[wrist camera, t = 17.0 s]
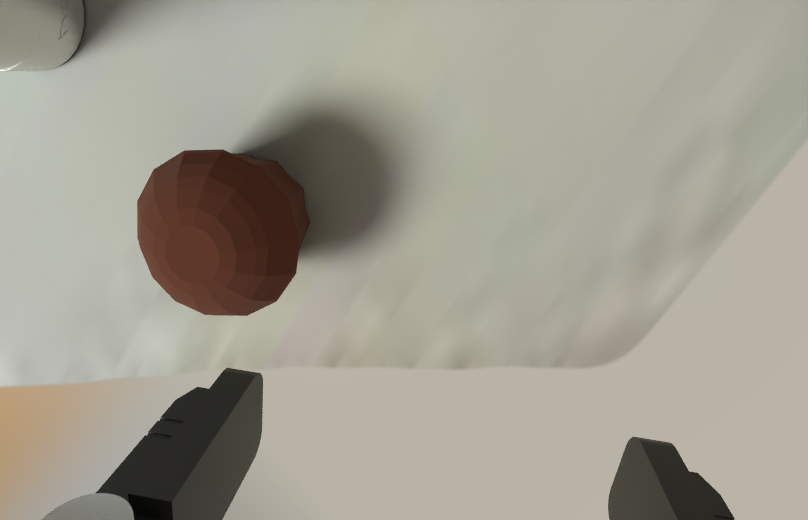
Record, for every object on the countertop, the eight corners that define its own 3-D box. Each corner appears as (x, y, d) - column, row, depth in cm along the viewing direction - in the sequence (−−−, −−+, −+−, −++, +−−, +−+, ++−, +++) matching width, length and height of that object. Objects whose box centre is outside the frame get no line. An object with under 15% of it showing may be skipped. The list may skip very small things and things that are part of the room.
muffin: (189, 120, 38) (101, 138, 28) (333, 151, 38) (292, 180, 28) (184, 264, 42) (106, 320, 33) (313, 293, 42) (271, 358, 33)
